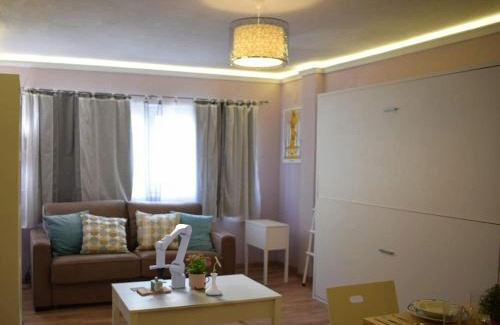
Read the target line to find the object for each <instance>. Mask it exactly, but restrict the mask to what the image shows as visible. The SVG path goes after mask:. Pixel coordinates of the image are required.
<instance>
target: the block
mask: <svg viewBox="0 0 500 325" xmlns="http://www.w3.org/2000/svg"><path fill="white" fill-rule="evenodd" d="M163 284H164V283H159V284H154V290H155V291H161V290H163V287H164V286H163Z"/></svg>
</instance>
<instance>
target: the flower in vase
mask: <svg viewBox="0 0 500 325" xmlns="http://www.w3.org/2000/svg"><path fill="white" fill-rule="evenodd" d="M214 258H215V261H216V262H215V263H214V266H213V270H212V272H211V273H210V276H211V285H210V286H209V287H208V288H206V289H205V292H204V293H205V294H206V295H209V296H218V295H221V294H222V293H223V290H222V289H221V288H220V287H218V286H217V284H216V280H217V279H216V278H217V276H218V273H216V271H217V270H216V268H215V266H216V265H217V264H218V266H219V267H220V268H222V265H221V262H219V259H218V257H217V256H214Z"/></svg>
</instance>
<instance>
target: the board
mask: <svg viewBox="0 0 500 325" xmlns="http://www.w3.org/2000/svg"><path fill="white" fill-rule="evenodd" d="M145 288H146V287H145ZM136 292H137V293H138V295H140V296H141V297H145V296H152V295H153V296H155V295H162V294H165V295H166V294H171V293H172V290H171V289H169V288H168V287H167V286H163V290H161V291H155V290H154V289H151V287H149V288H146V289H137V291H136Z"/></svg>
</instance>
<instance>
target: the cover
mask: <svg viewBox="0 0 500 325" xmlns="http://www.w3.org/2000/svg"><path fill="white" fill-rule="evenodd" d="M159 283H163V284H166V283H167V281H166V280H164V279H163V278H162V279H159V277H158V276H155V277H154V279H151V280H150V288H151V289H154V284H159Z"/></svg>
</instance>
